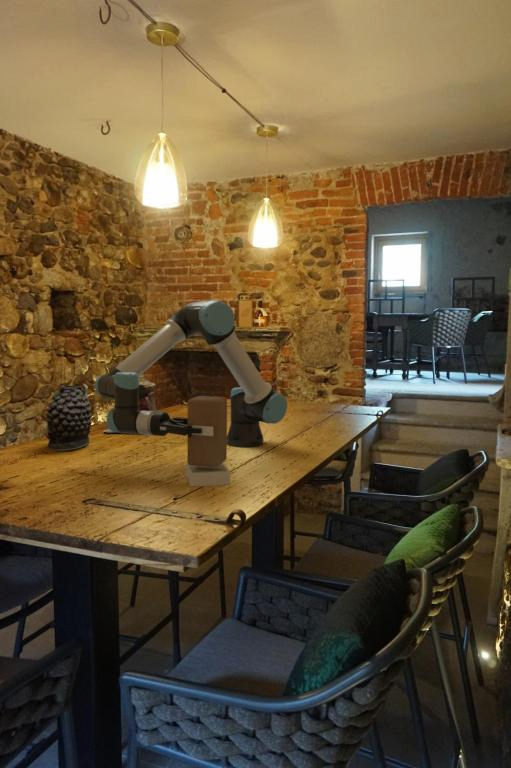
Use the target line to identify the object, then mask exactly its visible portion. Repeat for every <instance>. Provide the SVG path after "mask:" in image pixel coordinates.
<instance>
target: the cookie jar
mask: <svg viewBox="0 0 511 768" xmlns="http://www.w3.org/2000/svg"><path fill="white" fill-rule="evenodd" d="M145 374H146V371H145V372H143V373H142V374H141V375H140V376H139V377H138V381H139V410H140V411H155V412H158V411H157V405H156V397H155V388H156V383H154V382H150V381H149V379H147V378H146V377H145ZM104 432H106V433H108V434H110V433H114V432H113V431H111V430H109V428H108V427H107V429H105V430H103V431H102V433H103V434H105V433H104Z"/></svg>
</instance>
